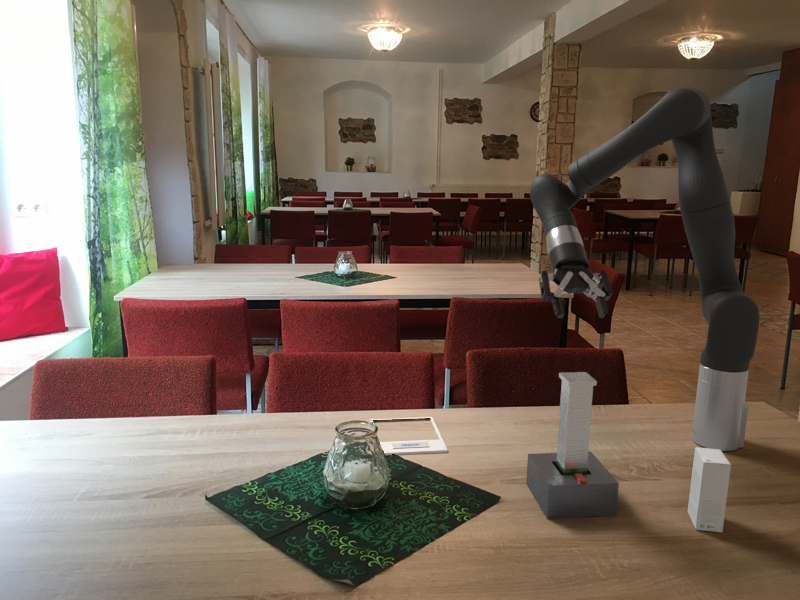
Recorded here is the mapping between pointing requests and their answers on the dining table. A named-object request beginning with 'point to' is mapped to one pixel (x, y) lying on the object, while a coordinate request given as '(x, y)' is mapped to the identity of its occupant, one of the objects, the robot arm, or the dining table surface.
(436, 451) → the photo frame
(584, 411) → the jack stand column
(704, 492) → the skincare box
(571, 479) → the block
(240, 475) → the dining table surface
